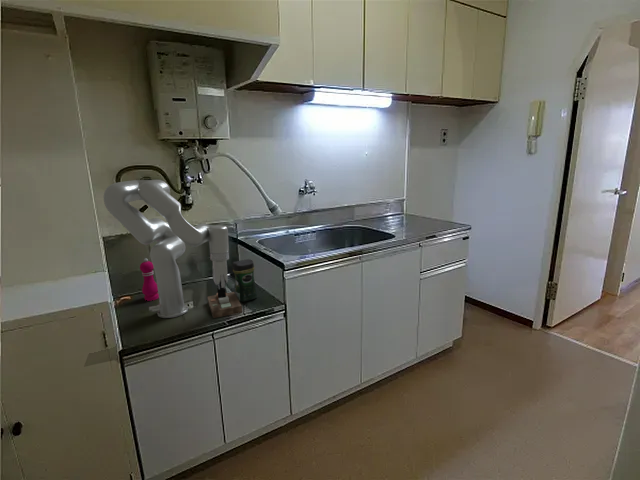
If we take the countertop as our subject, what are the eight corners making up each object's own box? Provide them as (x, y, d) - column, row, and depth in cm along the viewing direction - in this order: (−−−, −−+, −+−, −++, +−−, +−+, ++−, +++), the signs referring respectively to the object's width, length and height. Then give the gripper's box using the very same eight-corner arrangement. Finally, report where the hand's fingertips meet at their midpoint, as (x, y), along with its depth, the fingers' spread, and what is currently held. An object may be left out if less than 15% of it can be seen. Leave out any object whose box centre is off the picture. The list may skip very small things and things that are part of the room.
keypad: (213, 318, 154) (212, 311, 153) (208, 302, 170) (207, 296, 169) (242, 312, 158) (241, 305, 157) (234, 297, 174) (233, 291, 174)
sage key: (222, 314, 157) (221, 307, 156) (221, 310, 160) (220, 304, 160) (232, 312, 158) (231, 305, 157) (230, 308, 162) (229, 302, 161)
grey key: (220, 306, 161) (219, 300, 161) (218, 303, 165) (218, 297, 164) (229, 304, 163) (228, 298, 162) (228, 301, 166) (227, 295, 166)
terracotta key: (218, 302, 166) (217, 295, 165) (217, 298, 170) (216, 293, 169) (227, 300, 168) (226, 294, 167) (226, 297, 171) (225, 291, 171)
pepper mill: (148, 302, 173) (141, 261, 168) (140, 299, 177) (133, 259, 172) (163, 297, 178) (157, 257, 174) (155, 294, 183) (148, 255, 178)
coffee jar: (252, 293, 179) (249, 256, 174) (259, 298, 172) (256, 260, 168) (233, 298, 174) (229, 260, 169) (239, 303, 167) (235, 264, 163)
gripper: (208, 251, 158) (210, 292, 163) (212, 261, 145) (215, 305, 150) (226, 250, 161) (227, 289, 166) (232, 259, 148) (233, 302, 152)
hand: (221, 296), depth 158 cm, fingers closed
